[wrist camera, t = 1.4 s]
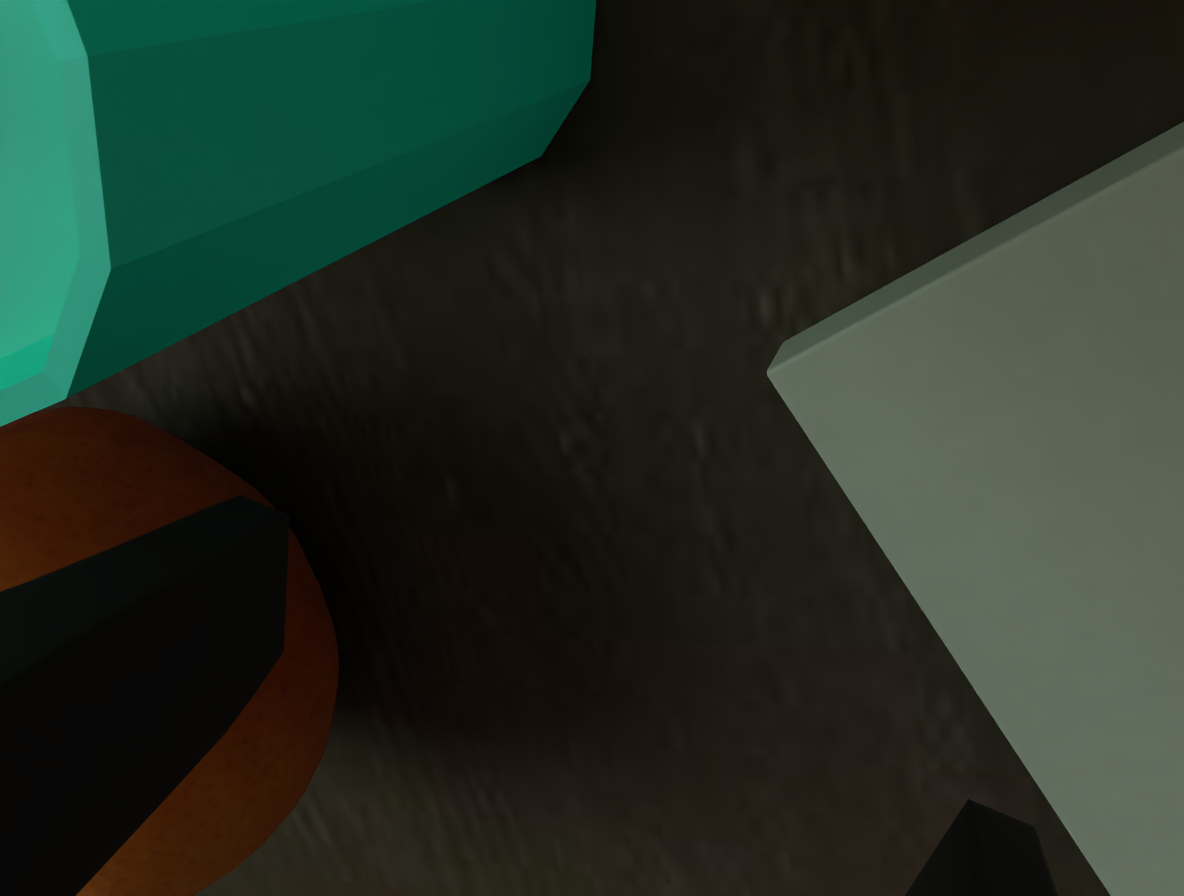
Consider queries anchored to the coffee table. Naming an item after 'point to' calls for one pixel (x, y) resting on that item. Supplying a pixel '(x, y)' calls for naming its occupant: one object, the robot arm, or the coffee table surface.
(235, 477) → the fruit
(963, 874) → the robot arm
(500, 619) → the coffee table surface
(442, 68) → the candle
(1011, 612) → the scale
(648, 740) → the coffee table surface
